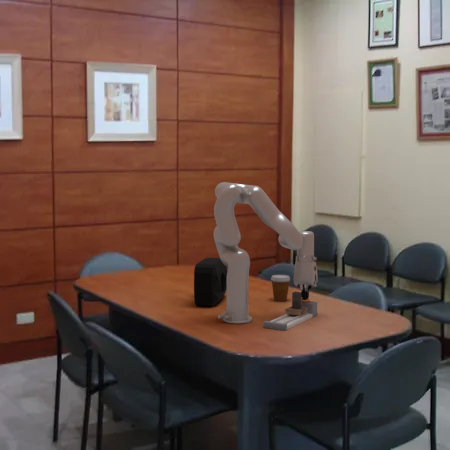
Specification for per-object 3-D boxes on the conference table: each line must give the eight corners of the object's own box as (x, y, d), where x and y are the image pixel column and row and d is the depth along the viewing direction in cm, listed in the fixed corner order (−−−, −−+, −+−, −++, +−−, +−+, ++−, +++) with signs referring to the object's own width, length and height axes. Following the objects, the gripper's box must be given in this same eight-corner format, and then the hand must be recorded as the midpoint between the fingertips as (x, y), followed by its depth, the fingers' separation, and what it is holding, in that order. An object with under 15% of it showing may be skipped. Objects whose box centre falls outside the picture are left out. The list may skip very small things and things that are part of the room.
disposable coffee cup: (274, 303, 344) (274, 278, 343) (268, 298, 353) (268, 275, 352) (292, 301, 347) (293, 277, 345) (286, 297, 356) (286, 274, 354)
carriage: (299, 315, 308) (300, 295, 307) (285, 313, 311) (285, 293, 310) (307, 311, 314) (308, 291, 313) (293, 309, 318) (293, 290, 317)
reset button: (307, 306, 316) (307, 300, 316) (298, 304, 319) (298, 299, 319) (311, 304, 320) (311, 298, 320) (302, 303, 323) (302, 297, 322)
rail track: (284, 330, 292) (284, 316, 292) (263, 327, 298) (263, 313, 297) (317, 314, 320) (317, 301, 319) (297, 312, 325) (297, 299, 324)
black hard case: (208, 294, 364) (207, 255, 362) (231, 295, 362) (231, 256, 359) (193, 307, 335) (193, 265, 332) (219, 308, 332) (218, 266, 330)
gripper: (324, 259, 316) (323, 299, 319) (293, 256, 324) (293, 296, 326) (317, 261, 310) (316, 302, 312) (286, 258, 318) (286, 299, 320)
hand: (305, 299), depth 319 cm, fingers closed
